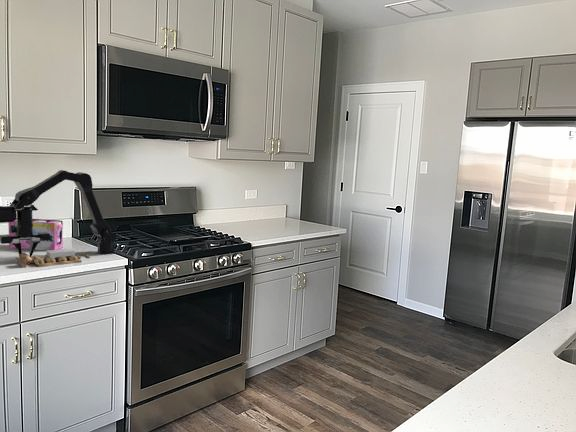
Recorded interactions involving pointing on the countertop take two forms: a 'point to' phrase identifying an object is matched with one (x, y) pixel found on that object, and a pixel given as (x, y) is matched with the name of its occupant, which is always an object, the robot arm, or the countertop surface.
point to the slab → (60, 253)
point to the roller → (28, 259)
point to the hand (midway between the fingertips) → (25, 257)
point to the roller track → (52, 261)
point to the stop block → (22, 260)
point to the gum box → (43, 226)
